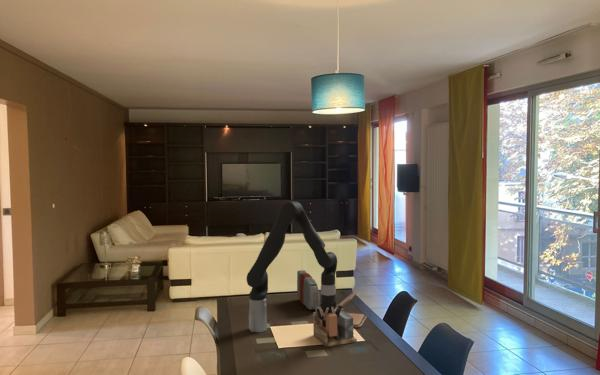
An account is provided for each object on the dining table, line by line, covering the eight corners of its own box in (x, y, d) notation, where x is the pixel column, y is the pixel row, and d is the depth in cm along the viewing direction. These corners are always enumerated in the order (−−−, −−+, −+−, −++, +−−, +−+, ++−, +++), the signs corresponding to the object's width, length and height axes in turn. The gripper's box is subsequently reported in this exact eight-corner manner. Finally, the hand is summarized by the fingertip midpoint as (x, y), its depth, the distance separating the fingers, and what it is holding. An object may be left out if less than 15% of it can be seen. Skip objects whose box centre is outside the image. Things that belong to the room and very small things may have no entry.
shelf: (325, 346, 219) (324, 322, 218) (313, 335, 234) (313, 312, 234) (356, 341, 225) (356, 318, 224) (343, 330, 240) (343, 308, 239)
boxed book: (329, 336, 219) (329, 316, 218) (320, 328, 230) (320, 309, 230) (337, 335, 220) (337, 315, 220) (327, 327, 232) (327, 308, 231)
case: (333, 313, 269) (332, 287, 268) (368, 316, 262) (367, 289, 261) (323, 325, 250) (322, 296, 249) (360, 329, 242) (360, 300, 241)
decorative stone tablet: (296, 269, 294) (310, 285, 266) (305, 268, 296) (321, 284, 268) (295, 298, 297) (310, 316, 269) (305, 297, 299) (320, 315, 271)
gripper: (317, 296, 219) (318, 331, 219) (344, 293, 223) (344, 327, 224) (312, 292, 226) (312, 325, 226) (338, 289, 230) (338, 322, 231)
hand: (328, 326), depth 225 cm, fingers closed on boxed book, 4 cm apart
